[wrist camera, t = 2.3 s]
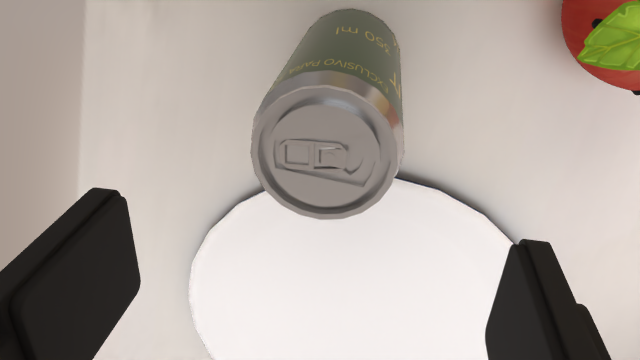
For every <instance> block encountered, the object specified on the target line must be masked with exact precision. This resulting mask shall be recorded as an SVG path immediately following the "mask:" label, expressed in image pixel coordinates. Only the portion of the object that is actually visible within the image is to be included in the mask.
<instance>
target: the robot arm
mask: <svg viewBox="0 0 640 360" xmlns="http://www.w3.org/2000/svg"><path fill="white" fill-rule="evenodd" d="M140 282H141V280H140V273H139V268H138V262H137V256H136V251H135V245H134V240H133V234H132V228H131V223H130V217H129V212H128V206H127V201H126V199H125V198H124V197H122V196H121V195H120V193H119V192H118V191H117V190H112V189H103V188H92V189H90V190H89V191H88V192H87V193H86V194H85V195H83V196H82V197H81V198H80V199H79V200H78V201H77V202H76V203H75V204H74V205H73V206H71V207H70V208H69V209H68V210H67V211H66V212H65V213H64V214H63V215H62V216H61V217H60V218H58V220H56V221H55V222H54V223H53V224H52V225H51V226H50V227H49V228H47V229H46V230H45V231H44V232H43V233H42V234H41V235H40V236H39V237H38V238H37V239H35V240H34V241H33V242H32V243H31V244H30V245H29V246H28V247H27V248H26V249H25V250H23V252H21V253H20V254H19V255H18V256H17V257H16V258H15V259H14V260H13V261H11V262H10V263H9V264H8V265H7V266H6V267H5V268H4V269H3V270H2V271H1V272H0V360H92V359H93V358H94V356H95V355H96V353H97V352H98V351H99V349H100V348H101V346H102V345H103V343H104V342H105V340H106V339H107V337H108V336H109V334H110V333H111V331H112V330H113V328H114V327H115V325H116V324H117V323H118V321H119V320H120V318H121V317H122V315H123V314H124V312H125V311H126V309H127V308H128V306H129V305H130V303H131V302H132V300H133V299H134V297H135V296H136V294H137V293H138V291H139V288H140ZM485 344H486V350H487V355H488V360H611V358H610V355H609V353H608V351H607V349H606V347H605V345H604V342H603V340H602V338H601V336H600V334H599V332H598V330H597V327H596V325H595V323H594V321H593V319H592V317H591V315H590V312H589V311H588V309H587V308H586V307H585V306H584V305H582V304H577V303H576V301H575V299H574V296H573V294H572V292H571V289H570V287H569V285H568V283H567V280H566V278H565V276H564V274H563V271H562V269H561V267H560V265H559V262H558V260H557V258H556V256H555V253H554V251H553V249H552V247H551V245H550V243H549V242H544V241H536V240H527V239H522V240H521V241H520V242H519V245H517V244H512V245H511V247H510V249H509V253H508V256H507V259H506V262H505V266H504V269H503V272H502V276H501V279H500V282H499V285H498V289H497V292H496V295H495V299H494V302H493V305H492V308H491V312H490V315H489V318H488V322H487V325H486V329H485Z"/></svg>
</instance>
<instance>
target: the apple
mask: <svg viewBox="0 0 640 360" xmlns="http://www.w3.org/2000/svg"><path fill="white" fill-rule="evenodd" d="M561 22H562V31H563V35H564V39H565V42H566V44H567V47H568V49H569V50H570V52H571V54H572V55H573V57H574V58H575V59H576V61H577V62H578V63H579V64H580V65H581V66H582V67H583V68H584V69H585V70H587V71H588V72H589V73H590V74H592V75H593V76H595V77H597V78H598V79H600V80H602V81H604V82H606V83H608V84H611V85H614V86H616V87H620V88H623V89H627V90H631V91H632V92H633V93H634V94H635V95H640V0H563V4H562V13H561Z"/></svg>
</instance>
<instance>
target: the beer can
mask: <svg viewBox="0 0 640 360" xmlns="http://www.w3.org/2000/svg"><path fill="white" fill-rule="evenodd" d="M251 140H252V144H251V152H250V153H251V157H252V162H253V166H254V171H255V174H256V175H257V177H258V179H259V180H260V182H261V184H262V186H263V187H264V189H265V191H266V192H268V193H269V194H270V195H271V196H272V197H273V198H274V199H275V200H276V201H277V202H278V203H279V204H280V205H282V206H284V207H286V208H287V209H289V210H291V211H293V212H295V213H297V214H299V215H302V216H306V217H311V218H315V219H319V220H332V219H344V218H347V217H351V216H354V215H357V214H360V213H363V212H364V211H366V210H367V209H369V208H370V207H372V206H373V205H374V204H376V203H377V202H379V201H380V200H381V198H382V197H383V196H384V194H385V193H386V192H387V190H388V189H389V188H390V186H391V185H392V182H393V179H394V177H395V176H396V175H397V173H398V171H399V167H400V164H401V161H402V158H403V155H404V134H403V112H402V91H401V69H400V49H399V46H398V44H397V41H396V39H395V36H394V34H393V32H392V31H391V30H390V29H389V28H388V26H387V25H386V24H385V23H384V22H383V21H382V20H380V19H379V18H377V17H375V16H374V15H372V14H370V13H369V12H365V11H360V10H356V9H346V10H336V11H334V12H332V13H329V14H327V15H325V16H323V17H321V18H320V19H319V20H318V21H317V22H316V23H315V24H314V25H312V26H311V27H310V28H309V30H308V31H307V33H306V34H305V36H304V37H303V39H302V40H301V42H300V43H299V45H298V47H297V48H296V50H295V51H294V53H293V54H292V56H291V57H290V59H289V60H288V62H287V64H286V65H285V67H284V68H283V70H282V71H281V73H280V74H279V76H278V77H277V79H276V80H275V82H274V84H273V85H272V87H271V88H270V90H269V91H268V93H267V94H266V96H265V97H264V99H263V101H262V103H261V105H260V107H259V109H258V111H257V113H256V115H255V117H254V121H253V129H252V137H251Z"/></svg>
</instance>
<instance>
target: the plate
mask: <svg viewBox="0 0 640 360" xmlns="http://www.w3.org/2000/svg"><path fill="white" fill-rule="evenodd" d="M512 244H514V243H513V242H512V241H511V240H510V239H509V238H508V237H507V236H506V235H505V234H504V233H503V232H502V231H501V230H500V229H499V228H498V227H497V226H496V225H495V224H494V223H493V222H492V221H491V220H490V219H489V218H488V217H487V216H486V215H485V214H483V213H481V212H479V211H478V210H476V209H474V208H472V207H470V206H469V205H467V204H465V203H463V202H461V201H460V200H458V199H456V198H454V197H452V196H451V195H449V194H447V193H445V192H443V191H442V190H440V189H437V188H433V187H430V186H426V185H422V184H419V183H415V182H411V181H408V180H404V179H400V178H397V177H394V179H393V182H392V185H391V186H390V188H389V189H388V190H387V192H386V193H385V194H384V196H383V197H382V198H381V200H380V201H379V202H377V203H376V204H374V205H373V206H372V207H370V208H369V209H367V210H366V211H364V212H363V213H360V214H357V215H354V216H351V217H347V218H344V219H332V220H319V219H315V218H311V217H306V216H302V215H299V214H297V213H295V212H293V211H291V210H289V209H287V208H286V207H284V206H282V205H280V204H279V203H278V202H277V201H276V200H275V199H274V198H273V197H272V196H271V195H270V194H269V193H268V192H266V191H265V190H264V191H262V192H260V193H258V194H256V195H254V196H252V197H250V198H248V199H246V200H244V201H242V202H240V203H238V204H237V205H236V206H235V207H234V208H233V209H232V210H231V211H230V212H229V213H228V214H226V215H225V216H224V217H223V218H222V219H221V220H220V221H219V222H218V223H217V224H216V225H215V226H214V227H213V228H211V229H210V230H209V232H208V234H207V236H206V238H205V239H204V241H203V243H202V245H201V247H200V249H199V251H198V253H197V255H196V257H195V259H194V260H193V262H192V267H191V275H190V283H189V291H188V299H189V303H190V308H191V312H192V317H193V321H194V326H195V329H196V331H197V332H198V334H199V336H200V338H201V339H202V341H203V343H204V345H205V347H206V348H207V350H208V352H209V354H210V355H211V357H212V358H213V359H214V360H488V355H487V350H486V344H485V329H486V325H487V322H488V318H489V315H490V312H491V308H492V305H493V302H494V299H495V295H496V292H497V289H498V285H499V282H500V279H501V276H502V272H503V269H504V266H505V262H506V259H507V256H508V253H509V249H510V247H511V245H512Z"/></svg>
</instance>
